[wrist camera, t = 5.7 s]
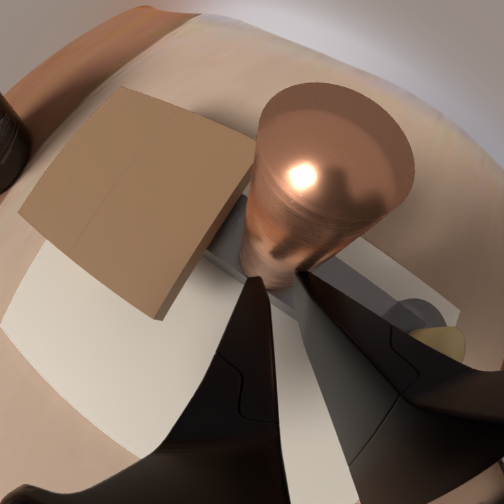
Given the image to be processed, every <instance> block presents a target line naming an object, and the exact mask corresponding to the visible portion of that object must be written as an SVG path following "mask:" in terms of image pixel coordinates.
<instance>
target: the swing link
mask: <svg viewBox="0 0 504 504" xmlns="http://www.w3.org/2000/svg"><path fill="white" fill-rule="evenodd" d="M414 174H415V165H414V158H413V154H412V150H411V147H410V145H409V142H408V140H407V138H406V136H405V134H404V133H403V131H402V130H401V128H400V127H399V125H398V124H397V123H396V121H395V120H394V119H393V118H392V117H391V116H390V115H389V114H388V113H387V112H386V111H385V110H384V109H383V108H382V107H380V106H379V105H378V104H377V103H375V102H374V101H372V100H371V99H369V98H367V97H366V96H364V95H362V94H360V93H358V92H356V91H354V90H351V89H348V88H346V87H342V86H339V85H334V84H329V83H303V84H298V85H294V86H291V87H289V88H286V89H284V90H282V91H281V92H279V93H277V94H276V95H275V96H274V97H273V98H272V99H271V100H270V101H269V102H268V103H267V104H266V106H265V108H264V109H263V111H262V114H261V117H260V121H259V127H258V133H257V140H256V146H255V153H254V160H253V166H252V173H251V180H250V186H249V193H248V197H247V196H245V195H244V194H241V196H240V197H239V199H238V200H237V202H236V203H235V205H234V206H233V208H232V209H231V211H230V213H229V214H228V216H227V217H226V219H225V220H224V222H223V223H222V225H221V227H220V228H219V230H218V231H217V233H216V234H215V236H214V238H213V239H212V241H211V242H210V244H209V245H208V247H207V249H206V250H205V252H204V253H203V255H202V256H203V257H205V258H206V259H207V260H209V261H210V262H212V263H213V264H215V265H216V266H217V267H219V268H220V269H222V270H223V271H224V272H226V273H227V274H229V275H230V276H232V277H233V278H235V279H236V280H237V281H239V282H240V283H242V284H243V285H244V284H245V281H246V279H247V278H248V277H254V276H261V277H262V279H263V282H264V285H265V287H266V290H267V293H268V296H269V299H270V303H271V304H272V305H274V306H275V307H277V308H278V309H280V310H281V311H283V312H284V313H286V314H287V315H289V316H290V317H292V318H293V319H295V320H296V321H298V319H297V315H296V311H295V307H294V303H293V278H294V274H295V272H300V271H309V272H311V273H313V274H314V275H316V276H317V277H319V278H320V279H322V280H324V281H325V282H327V283H328V284H330V285H332V286H333V287H335V288H336V289H338V290H340V291H341V292H343V293H344V294H346V295H347V296H349V297H351V298H352V299H354V300H355V301H357V302H359V303H360V304H362V305H363V306H365V307H366V308H368V309H370V310H371V311H373V312H374V313H376V314H377V315H379V316H380V317H382V318H384V319H385V320H387V321H388V322H390V323H391V324H392V325H395V326H396V327H398V328H399V329H401V330H402V331H404V332H406V333H407V334H408V333H410V332H411V331H413V330H416V329H426V328H437V327H447V325H446V322H445V320H444V318H443V316H442V314H441V313H440V312H439V310H438V309H437V308H436V307H435V306H434V305H432V304H431V303H429V302H427V301H425V300H422V299H417V298H410V299H405V300H401V301H397V300H395V299H394V298H393V297H391V296H390V295H389V294H387V293H386V292H385V291H383V290H382V289H381V288H379V287H378V286H377V285H375V284H374V283H372V282H371V281H370V280H368V279H367V278H366V277H364V276H363V275H361V274H360V273H359V272H357V271H356V270H354V269H353V268H352V267H350V266H349V265H347V264H346V263H345V262H343V261H342V260H340V259H339V258H337V257H336V256H335V255H336V254H338V253H339V252H340V251H342V250H343V249H344V248H346V247H347V246H348V245H349V244H351V243H352V242H353V241H355V240H356V239H357V238H358V237H360V236H361V235H362V234H364V233H365V232H366V231H367V230H369V229H370V228H371V227H372V226H374V225H375V224H376V223H377V222H379V221H380V220H381V219H382V218H384V217H385V216H386V215H387V214H389V213H390V212H391V211H392V210H394V209H395V208H396V207H397V206H398V205H399V204H401V203H402V202H403V201H404V199H405V198H406V197H407V195H408V194H409V192H410V190H411V187H412V184H413V181H414Z"/></svg>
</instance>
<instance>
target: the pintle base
mask: <svg viewBox="0 0 504 504" xmlns="http://www.w3.org/2000/svg"><path fill="white" fill-rule="evenodd" d="M255 146H256V140H254V139H252V138H250V137H248V136H246V135H244V134H241V133H239V132H237V131H235V130H233V129H230V128H228V127H226V126H224V125H221V124H219V123H217V122H215V121H212V120H210V119H208V118H205V117H203V116H200V115H198V114H195V113H193V112H191V111H188V110H186V109H183V108H180V107H178V106H175V105H173V104H170V103H167V102H165V101H162V100H159V99H157V98H154V97H151V96H148V95H145V94H143V93H140V92H137V91H134V90H131V89H128V88H125V87H122V86H121V87H119V88H118V89H117V90H116V91H115V92H114V93H113V94H112V95H111V96H110V97H109V98H108V99H107V100H106V101H105V102H104V103H103V104H102V105H101V106H100V107H99V108H98V109H97V110H96V111H95V112H94V113H93V115H92V116H91V117H90V118H89V119H88V120H87V121H86V122H85V123H84V124H83V125H82V127H81V128H80V129H79V130H78V131H77V132H76V133H75V135H74V136H73V137H72V138H71V139H70V140H69V142H68V143H67V144H66V145H65V147H64V148H63V149H62V150H61V151H60V153H59V154H58V155H57V157H56V158H55V159H54V160H53V162H52V163H51V164H50V166H49V167H48V168H47V170H46V171H45V172H44V174H43V175H42V177H41V178H40V179H39V181H38V182H37V184H36V185H35V187H34V188H33V190H32V191H31V193H30V194H29V196H28V197H27V199H26V200H25V202H24V203H23V205H22V207H21V208H20V210H19V211H18V213H19V214H20V215H21V216H22V217H23V218H24V219H25V220H26V221H27V222H28V223H29V224H31V225H32V226H33V227H34V228H35V229H36V230H37V231H38V232H39V233H40V234H42V235H43V236H44V237H45V238H46V239H47V240H46V241H45V243H44V244H43V246H42V248H41V249H40V251H39V252H38V254H37V256H36V257H35V259H34V261H33V262H32V264H31V266H30V268H29V269H28V271H27V273H26V275H25V276H24V278H23V280H22V282H21V284H20V285H19V287H18V289H17V291H16V293H15V295H14V297H13V299H12V301H11V303H10V305H9V307H8V309H7V311H6V313H5V315H4V317H3V320H2V322H1V324H0V327H1V328H2V330H3V331H4V332H5V333H6V335H7V336H8V337H9V339H10V340H11V341H12V342H13V344H14V345H15V346H16V347H17V349H18V350H19V351H20V352H21V353H22V355H23V356H24V357H25V358H26V359H27V360H28V362H29V363H30V364H31V365H32V366H33V367H34V368H35V369H36V370H37V372H38V373H39V374H40V375H41V376H42V377H43V378H44V379H45V380H46V381H47V382H48V383H49V384H50V385H51V386H52V387H53V388H54V389H55V390H56V391H57V392H58V393H59V394H60V395H61V396H62V397H63V398H64V399H65V400H66V401H67V402H69V403H70V404H71V405H72V406H73V407H74V408H75V409H76V410H77V411H79V412H80V413H81V414H82V415H83V416H84V417H85V418H87V419H88V420H89V421H90V422H91V423H93V424H94V425H95V426H96V427H98V428H99V429H100V430H101V431H103V432H104V433H105V434H106V435H108V436H109V437H110V438H112V439H113V440H114V441H116V442H117V443H118V444H120V445H121V446H123V447H124V448H125V449H127V450H128V451H130V452H131V453H133V454H134V455H136V456H137V457H139V458H140V459H142V458H144V457H146V456H147V455H149V454H150V453H151V452H153V451H154V450H155V449H156V448H157V447H158V446H159V445H160V444H161V443H162V441H163V440H164V439H165V437H166V436H167V435H168V433H169V432H170V430H171V429H172V427H173V426H174V424H175V423H176V421H177V420H178V418H179V416H180V415H181V413H182V412H183V410H184V409H185V407H186V406H187V404H188V403H189V401H190V399H191V398H192V396H193V395H194V393H195V391H196V390H197V388H198V386H199V385H200V383H201V381H202V379H203V377H204V375H205V373H206V371H207V369H208V367H209V365H210V363H211V360H212V358H213V356H214V354H215V351H216V349H217V347H218V345H219V342H220V340H221V338H222V335H223V333H224V331H225V328H226V326H227V324H228V321H229V319H230V317H231V314H232V312H233V310H234V307H235V305H236V303H237V300H238V298H239V296H240V293H241V291H242V289H243V286H244V285H243V284H242V283H240V282H239V281H237V280H236V279H235V278H233V277H232V276H230V275H229V274H227V273H226V272H224V271H223V270H222V269H220V268H219V267H217V266H216V265H215V264H213V263H212V262H210V261H209V260H207V259H206V258H205V257H203V256H202V255H203V253H204V252H205V250H206V249H207V247H208V245H209V244H210V242H211V241H212V239H213V238H214V236H215V234H216V233H217V231H218V230H219V228H220V227H221V225H222V223H223V222H224V220H225V219H226V217H227V216H228V214H229V213H230V211H231V209H232V208H233V206H234V205H235V203H236V202H237V200H238V199H239V197H240V196H241V194H244V195H245V196H247V197H248V193H249V186H250V180H251V173H252V166H253V160H254V153H255ZM335 256H336V257H337V258H339V259H340V260H342V261H343V262H345V263H346V264H347V265H349V266H350V267H352V268H353V269H354V270H356V271H357V272H359V273H360V274H361V275H363V276H364V277H366V278H367V279H368V280H370V281H371V282H372V283H374V284H375V285H377V286H378V287H379V288H381V289H382V290H383V291H385V292H386V293H387V294H389V295H390V296H391V297H393V298H394V299H395V300H397V301H401V300H405V299H410V298H417V299H422V300H425V301H427V302H429V303H431V304H432V305H434V306H435V307H436V308H437V309H438V310H439V312H440V313H441V314H442V316H443V318H444V320H445V322H446V325H447V327H437V328H426V329H416V330H413V331H411V332H410V333H408V334H409V335H411V336H412V337H414V338H415V339H417V340H419V341H421V342H422V343H424V344H426V345H428V346H430V347H432V348H433V349H435V350H437V351H439V352H441V353H443V354H445V355H447V356H449V357H451V358H452V359H454V360H456V361H458V362H460V363H462V361H463V358H464V355H465V340H464V336H463V334H462V333H461V331H460V330H459V329H458V328H456V327H455V326H456V323H457V320H458V317H459V314H460V310H459V309H458V308H456V307H455V306H454V305H453V304H451V303H450V302H449V301H448V300H446V299H445V298H444V297H443V296H441V295H440V294H439V293H437V292H436V291H435V290H434V289H432V288H431V287H430V286H428V285H427V284H426V283H424V282H423V281H422V280H420V279H419V278H418V277H416V276H415V275H414V274H412V273H411V272H410V271H408V270H407V269H406V268H404V267H403V266H401V265H400V264H399V263H397V262H396V261H395V260H393V259H392V258H390V257H389V256H388V255H386V254H385V253H383V252H382V251H380V250H379V249H378V248H376V247H375V246H373V245H372V244H370V243H369V242H367V241H366V240H364V239H363V238H362V237H358V238H357V239H356V240H355V241H353V242H352V243H351V244H349V245H348V246H347V247H346V248H344V249H343V250H342V251H340V252H339V253H338V254H336V255H335ZM271 314H272V326H273V339H274V352H275V365H276V379H277V393H278V407H279V422H280V425H279V426H280V436H281V446H282V453H283V459H284V465H285V471H286V477H287V483H288V489H289V495H290V500H291V504H355V503H356V502H357V501H358V500H359V497H358V494H357V491H356V488H355V485H354V482H353V480H352V477H351V474H350V471H349V467H348V465H347V462H346V459H345V456H344V454H343V451H342V448H341V445H340V443H339V440H338V437H337V434H336V431H335V429H334V426H333V423H332V420H331V418H330V415H329V412H328V409H327V407H326V404H325V401H324V398H323V396H322V393H321V390H320V388H319V385H318V382H317V380H316V377H315V374H314V371H313V369H312V366H311V363H310V361H309V358H308V355H307V353H306V350H305V347H304V344H303V340H302V336H301V332H300V328H299V324H298V321H296V320H295V319H293V318H292V317H290V316H289V315H287V314H286V313H284V312H283V311H281V310H280V309H278V308H277V307H275V306H274V305H272V304H271Z"/></svg>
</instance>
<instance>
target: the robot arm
mask: <svg viewBox="0 0 504 504" xmlns="http://www.w3.org/2000/svg"><path fill="white" fill-rule="evenodd" d="M293 303H294V307H295V311H296V315H297V319H298V324H299V328H300V332H301V336H302V340H303V344H304V347H305V350H306V353H307V355H308V358H309V361H310V363H311V366H312V369H313V371H314V374H315V377H316V380H317V382H318V385H319V388H320V390H321V393H322V396H323V398H324V401H325V404H326V407H327V409H328V412H329V415H330V418H331V420H332V423H333V426H334V429H335V431H336V434H337V437H338V440H339V443H340V445H341V448H342V451H343V454H344V456H345V459H346V462H347V465H348V467H349V471H350V474H351V477H352V480H353V482H354V485H355V488H356V491H357V494H358V497H359V500H360V503H361V504H504V370H503V371H492V372H487V371H479V370H476V369H472V368H470V367H468V366H466V365H464V364H462V363H460V362H458V361H456V360H454V359H452V358H451V357H449V356H447V355H445V354H443V353H441V352H439V351H437V350H435V349H433V348H432V347H430V346H428V345H426V344H424V343H422V342H421V341H419V340H417V339H415V338H414V337H412V336H411V335H409V334H407V333H406V332H404V331H402V330H401V329H399V328H398V327H396V326H395V325H392V324H391V323H390V322H388V321H387V320H385V319H384V318H382V317H380V316H379V315H377V314H376V313H374V312H373V311H371V310H370V309H368V308H366V307H365V306H363V305H362V304H360V303H359V302H357V301H355V300H354V299H352V298H351V297H349V296H347V295H346V294H344V293H343V292H341V291H340V290H338V289H336V288H335V287H333V286H332V285H330V284H328V283H327V282H325V281H324V280H322V279H320V278H319V277H317V276H316V275H314V274H313V273H311V272H309V271H300V272H295V274H294V278H293ZM279 425H280V422H279V407H278V393H277V379H276V365H275V352H274V339H273V326H272V314H271V303H270V299H269V296H268V293H267V290H266V287H265V285H264V282H263V279H262V277H261V276H254V277H248V278H247V279H246V281H245V284H244V286H243V289H242V291H241V293H240V296H239V298H238V300H237V303H236V305H235V307H234V310H233V312H232V314H231V317H230V319H229V321H228V324H227V326H226V328H225V331H224V333H223V335H222V338H221V340H220V342H219V345H218V347H217V349H216V351H215V354H214V356H213V358H212V360H211V363H210V365H209V367H208V369H207V371H206V373H205V375H204V377H203V379H202V381H201V383H200V385H199V386H198V388H197V390H196V391H195V393H194V395H193V396H192V398H191V399H190V401H189V403H188V404H187V406H186V407H185V409H184V410H183V412H182V413H181V415H180V416H179V418H178V420H177V421H176V423H175V424H174V426H173V427H172V429H171V430H170V432H169V433H168V435H167V436H166V437H165V439H164V440H163V441H162V443H161V444H160V445H159V446H158V447H157V448H156V449H155V450H154V451H153V452H151V453H150V454H149V455H147V456H146V457H144V458H142V459H141V460H139V461H137V462H136V463H134V464H132V465H131V466H129V467H127V468H125V469H124V470H122V471H120V472H119V473H117V474H115V475H113V476H111V477H110V478H108V479H106V480H104V481H102V482H100V483H98V484H97V485H95V486H93V487H91V488H88V489H86V490H83V491H80V492H76V493H69V494H60V493H55V492H51V491H48V490H45V489H42V488H39V487H36V486H32V485H28V484H23V485H21V486H20V487H18V488H16V489H15V490H13V491H11V492H10V493H8V494H7V495H6V496H5V497H4V498H3V499H2V501H1V502H0V504H291V500H290V495H289V489H288V483H287V477H286V471H285V465H284V459H283V453H282V446H281V436H280V426H279Z"/></svg>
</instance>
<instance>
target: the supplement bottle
mask: <svg viewBox="0 0 504 504" xmlns="http://www.w3.org/2000/svg"><path fill="white" fill-rule="evenodd" d="M30 147H31V134H30V131H29V129H28V127H27V126H26V125H25V123H24V122H23V121H22V119H21V118H20V117H19V116H18V114H17V113H16V112H15V111H14V109H13V108H12V107H11V105H10V104H9V103H8V102H7V100H6V99H5V98H4V96H3V95H2V94H1V92H0V193H1V192H2V191H4V190H5V189H6V188H7V187H8V186H9V185H10V184H11V183H12V182H13V181H14V180H15V178H16V177H17V176H18V174H19V173H20V171H21V170H22V168H23V166H24V164H25V162H26V160H27V158H28V155H29V152H30Z"/></svg>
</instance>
